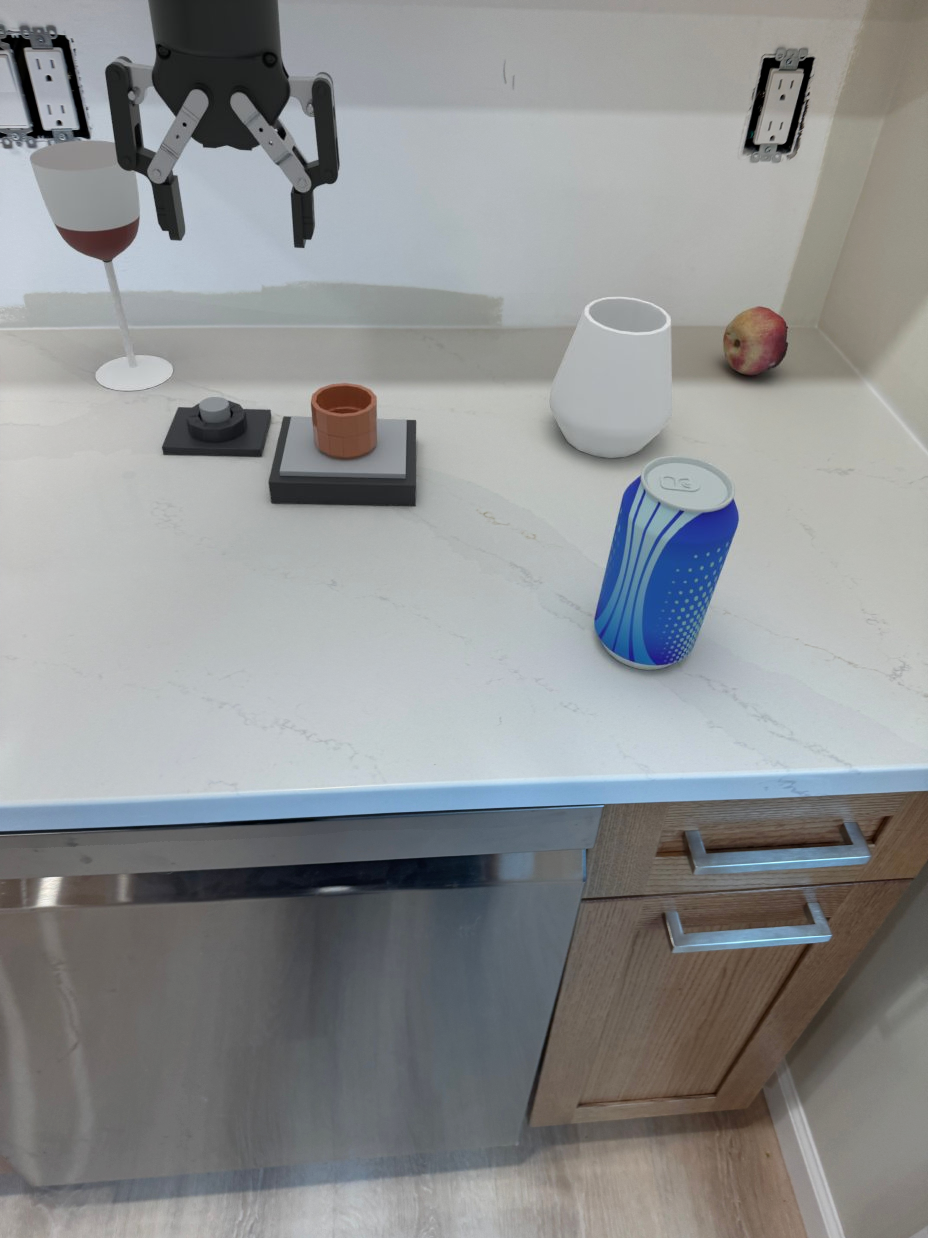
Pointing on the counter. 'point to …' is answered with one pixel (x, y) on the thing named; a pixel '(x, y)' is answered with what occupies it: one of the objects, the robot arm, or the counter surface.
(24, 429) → the counter surface
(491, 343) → the counter surface
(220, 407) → the button
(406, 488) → the scale
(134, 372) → the wineglass
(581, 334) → the cup
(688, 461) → the beer can
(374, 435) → the copper hollow cylinder
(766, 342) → the fruit
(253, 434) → the block
